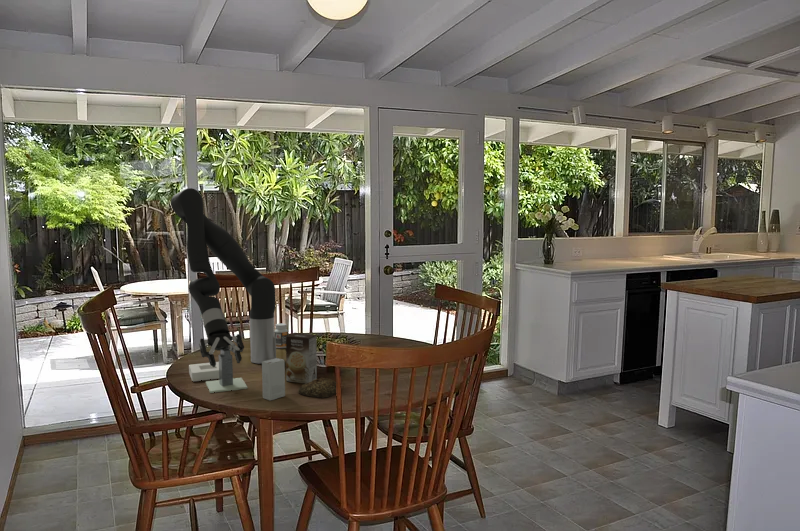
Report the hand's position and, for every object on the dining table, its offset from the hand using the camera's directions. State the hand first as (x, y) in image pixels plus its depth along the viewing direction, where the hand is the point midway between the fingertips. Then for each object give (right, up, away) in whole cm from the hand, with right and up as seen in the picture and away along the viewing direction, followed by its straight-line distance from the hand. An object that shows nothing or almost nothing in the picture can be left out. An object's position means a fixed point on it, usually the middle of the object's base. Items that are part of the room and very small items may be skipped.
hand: (227, 363), depth 204 cm
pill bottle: (+7, -2, +58) cm, 58 cm away
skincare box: (+18, -9, -10) cm, 23 cm away
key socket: (-11, -7, +15) cm, 20 cm away
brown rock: (+32, -9, -4) cm, 33 cm away
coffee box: (+24, -7, +9) cm, 26 cm away
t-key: (-1, -7, +2) cm, 7 cm away
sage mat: (-1, -8, +2) cm, 8 cm away
